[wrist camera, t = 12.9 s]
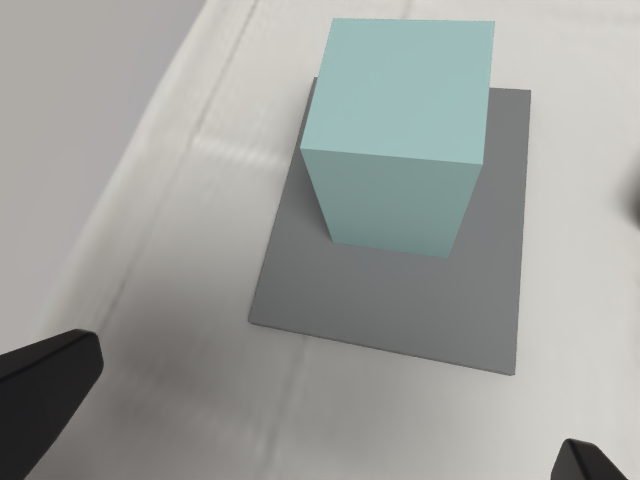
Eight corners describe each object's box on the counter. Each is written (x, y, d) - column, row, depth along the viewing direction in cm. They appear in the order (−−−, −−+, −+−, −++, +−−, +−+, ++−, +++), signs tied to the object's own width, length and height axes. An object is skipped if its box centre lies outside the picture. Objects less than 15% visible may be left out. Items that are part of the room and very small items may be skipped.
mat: (510, 375, 20) (515, 374, 19) (252, 324, 23) (247, 321, 22) (527, 99, 25) (531, 90, 24) (316, 85, 28) (314, 77, 27)
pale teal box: (447, 258, 22) (482, 164, 13) (333, 242, 23) (299, 148, 15) (458, 157, 24) (494, 21, 15) (352, 148, 25) (333, 18, 17)
